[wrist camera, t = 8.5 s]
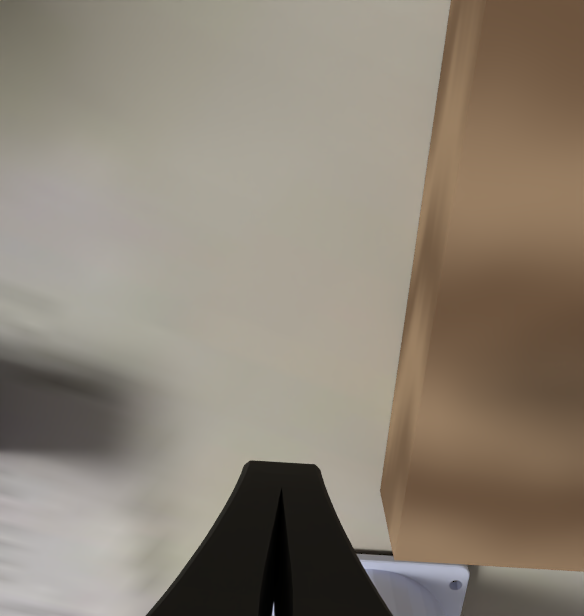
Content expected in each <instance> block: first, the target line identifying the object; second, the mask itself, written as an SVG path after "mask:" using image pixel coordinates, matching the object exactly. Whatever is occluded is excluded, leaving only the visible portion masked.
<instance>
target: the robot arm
mask: <svg viewBox="0 0 584 616" xmlns="http://www.w3.org/2000/svg"><path fill="white" fill-rule="evenodd" d="M469 577H470V572H469V569H468V566H467V565H466V564H449V563H432V562H415V561H399V560H394V556H386V555H369V554H356V553H355V551H354V549H353V547H352V545H351V543H350V541H349V539H348V537H347V535H346V533H345V531H344V529H343V527H342V525H341V523H340V521H339V519H338V516H337V514H336V512H335V510H334V507H333V505H332V503H331V500H330V498H329V495H328V493H327V490H326V487H325V484H324V481H323V478H322V475H321V470H320V469H319V468H318V467H317V466H316V465H315V464H300V463H283V462H267V461H249V462H248V463H246V464H245V465H244V467H243V470H242V473H241V475H240V477H239V480H238V482H237V484H236V486H235V488H234V490H233V492H232V494H231V496H230V497H229V499H228V501H227V503H226V505H225V507H224V508H223V510H222V512H221V513H220V515H219V516H218V518H217V520H216V521H215V523H214V525H213V526H212V528H211V529H210V531H209V533H208V534H207V536H206V537H205V539H204V540H203V542H202V543H201V545H200V546H199V548H198V549H197V550H196V552H195V553H194V555H193V556H192V557H191V559H190V560H189V561H188V563H187V564H186V566H185V567H184V568H183V570H182V571H181V573H180V574H179V575H178V577H177V578H176V579H175V581H174V582H173V583H172V584H171V586H170V587H169V588H168V590H167V591H166V592H165V593H164V595H163V596H162V597H161V598H160V599H159V601H158V602H157V603H156V604H155V605H154V607H153V608H152V609H151V610H150V611H149V612H148V614H147V615H146V616H461V611H462V607H463V603H464V598H465V594H466V590H467V585H468V581H469ZM455 580H458V581H456V582H452V581H455Z"/></svg>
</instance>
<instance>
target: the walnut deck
mask: <svg viewBox="0 0 584 616" xmlns="http://www.w3.org/2000/svg"><path fill="white" fill-rule="evenodd" d="M380 492H381V497H382V502H383V507H384V512H385V517H386V522H387V527H388V532H389V537H390V542H391V547H392V552H393V556H394V560H399V561H415V562H432V563H449V564H466V565H482V566H499V567H516V568H533V569H550V570H566V571H583V572H584V0H451V5H450V11H449V18H448V25H447V32H446V39H445V46H444V53H443V60H442V67H441V74H440V81H439V88H438V94H437V101H436V108H435V115H434V122H433V129H432V136H431V143H430V150H429V157H428V164H427V171H426V177H425V184H424V191H423V198H422V205H421V212H420V219H419V226H418V233H417V240H416V247H415V254H414V260H413V267H412V274H411V281H410V288H409V295H408V302H407V309H406V316H405V323H404V330H403V337H402V343H401V350H400V357H399V364H398V371H397V378H396V385H395V392H394V399H393V406H392V413H391V420H390V426H389V433H388V440H387V447H386V454H385V461H384V468H383V475H382V482H381V489H380Z"/></svg>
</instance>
